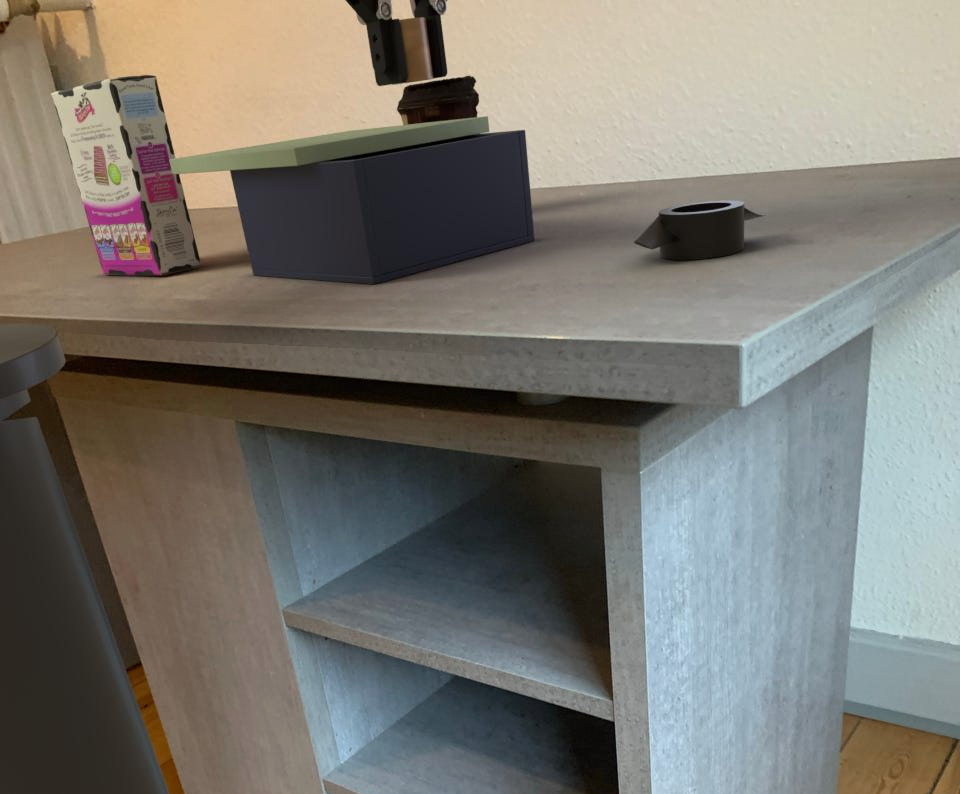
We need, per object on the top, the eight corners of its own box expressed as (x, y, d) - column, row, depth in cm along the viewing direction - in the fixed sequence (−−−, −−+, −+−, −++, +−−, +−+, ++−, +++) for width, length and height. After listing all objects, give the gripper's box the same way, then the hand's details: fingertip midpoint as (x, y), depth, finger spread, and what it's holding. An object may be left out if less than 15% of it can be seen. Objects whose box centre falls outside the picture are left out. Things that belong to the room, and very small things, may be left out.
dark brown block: (511, 213, 103) (497, 71, 96) (458, 227, 98) (439, 79, 91) (451, 215, 108) (434, 80, 102) (397, 228, 103) (376, 88, 97)
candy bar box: (205, 266, 95) (158, 73, 87) (162, 277, 92) (108, 77, 84) (144, 265, 102) (94, 86, 94) (101, 275, 99) (46, 91, 91)
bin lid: (297, 165, 73) (294, 148, 72) (172, 174, 86) (168, 159, 86) (489, 131, 84) (488, 116, 83) (352, 144, 97) (350, 130, 97)
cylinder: (409, 82, 73) (401, 19, 71) (383, 86, 75) (374, 25, 73) (441, 77, 74) (434, 16, 72) (415, 81, 77) (407, 21, 75)
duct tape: (787, 251, 65) (788, 204, 64) (637, 269, 66) (635, 223, 65) (760, 235, 72) (761, 192, 71) (624, 252, 73) (622, 210, 71)
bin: (373, 284, 74) (353, 160, 70) (253, 275, 86) (229, 169, 82) (535, 240, 84) (525, 129, 80) (406, 238, 96) (392, 141, 91)
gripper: (425, -208, 73) (459, 75, 82) (234, -222, 64) (296, 98, 73) (494, -241, 68) (522, 65, 77) (298, -261, 59) (356, 88, 68)
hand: (412, 78), depth 75 cm, fingers closed on cylinder, 3 cm apart
